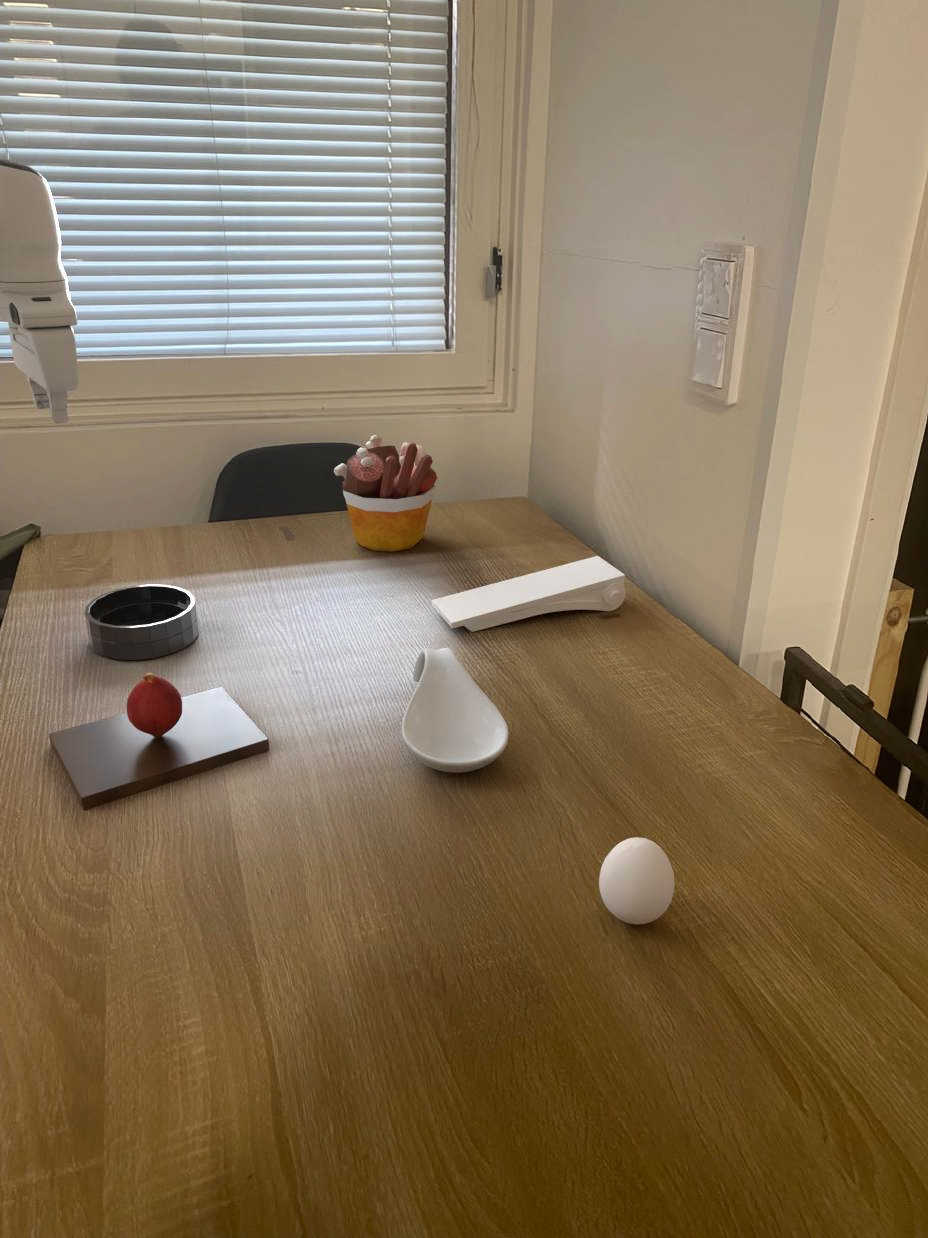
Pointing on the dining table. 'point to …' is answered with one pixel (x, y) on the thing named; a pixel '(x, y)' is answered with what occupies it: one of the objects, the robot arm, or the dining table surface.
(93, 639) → the pan
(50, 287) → the robot arm
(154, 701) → the onion
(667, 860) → the egg
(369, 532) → the bucket of meat
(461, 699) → the spoon rest
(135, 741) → the board
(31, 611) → the dining table surface
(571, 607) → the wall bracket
